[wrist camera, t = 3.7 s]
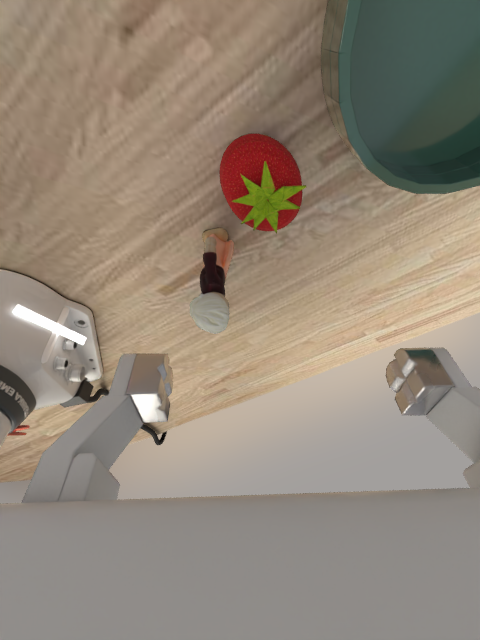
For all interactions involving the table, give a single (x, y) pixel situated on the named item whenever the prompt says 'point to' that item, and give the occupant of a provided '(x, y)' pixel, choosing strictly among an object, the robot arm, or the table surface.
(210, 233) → the grandmother figurine
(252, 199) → the strawberry
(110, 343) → the table surface
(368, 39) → the bowl
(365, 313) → the table surface
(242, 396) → the table surface
